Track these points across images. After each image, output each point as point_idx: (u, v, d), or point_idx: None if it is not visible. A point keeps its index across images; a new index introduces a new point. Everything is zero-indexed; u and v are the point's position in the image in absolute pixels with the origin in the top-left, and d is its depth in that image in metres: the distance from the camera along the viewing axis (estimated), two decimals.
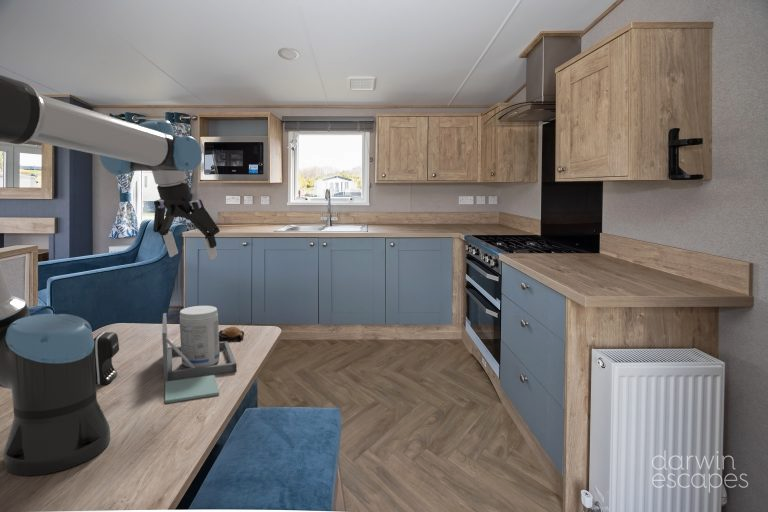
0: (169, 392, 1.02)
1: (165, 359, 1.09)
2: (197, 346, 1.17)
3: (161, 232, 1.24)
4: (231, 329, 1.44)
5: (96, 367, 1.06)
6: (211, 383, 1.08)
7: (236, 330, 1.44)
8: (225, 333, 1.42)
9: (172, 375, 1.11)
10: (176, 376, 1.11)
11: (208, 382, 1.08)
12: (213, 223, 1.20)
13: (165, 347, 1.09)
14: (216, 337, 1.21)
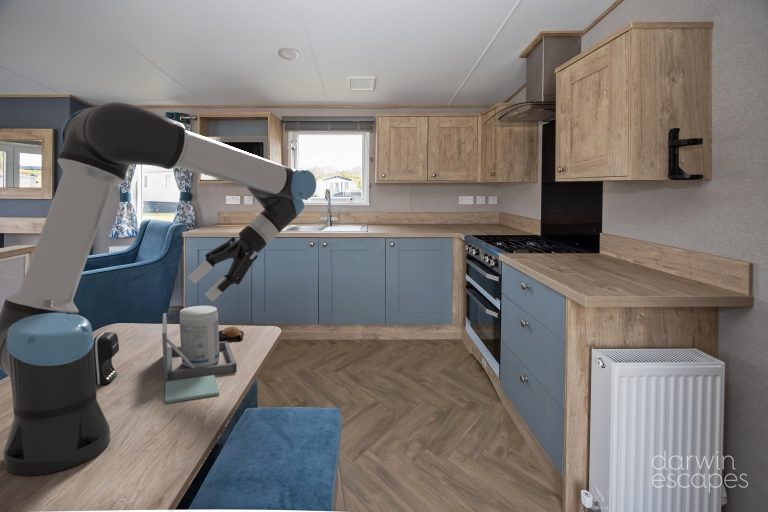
0: (169, 392, 1.02)
1: (165, 359, 1.09)
2: (197, 346, 1.17)
3: (208, 258, 1.27)
4: (231, 329, 1.44)
5: (96, 367, 1.06)
6: (211, 383, 1.08)
7: (236, 330, 1.44)
8: (225, 333, 1.42)
9: (172, 375, 1.11)
10: (176, 376, 1.11)
11: (208, 382, 1.08)
12: (242, 275, 1.17)
13: (165, 347, 1.09)
14: (216, 337, 1.21)
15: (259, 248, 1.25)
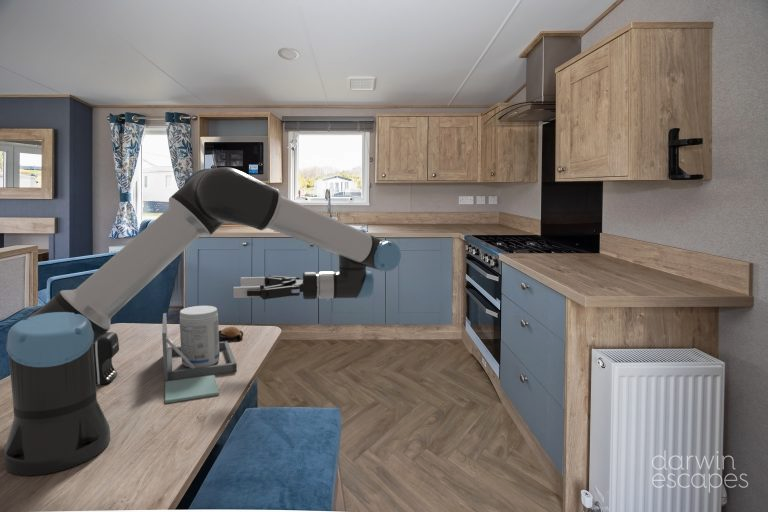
0: (169, 392, 1.02)
1: (165, 359, 1.09)
2: (197, 346, 1.17)
3: (267, 277, 1.30)
4: (230, 329, 1.43)
5: (96, 367, 1.06)
6: (211, 383, 1.08)
7: (235, 330, 1.44)
8: (224, 333, 1.42)
9: (172, 375, 1.11)
10: (176, 376, 1.11)
11: (208, 382, 1.08)
12: (273, 296, 1.15)
13: (165, 347, 1.09)
14: (216, 337, 1.21)
15: (307, 294, 1.22)
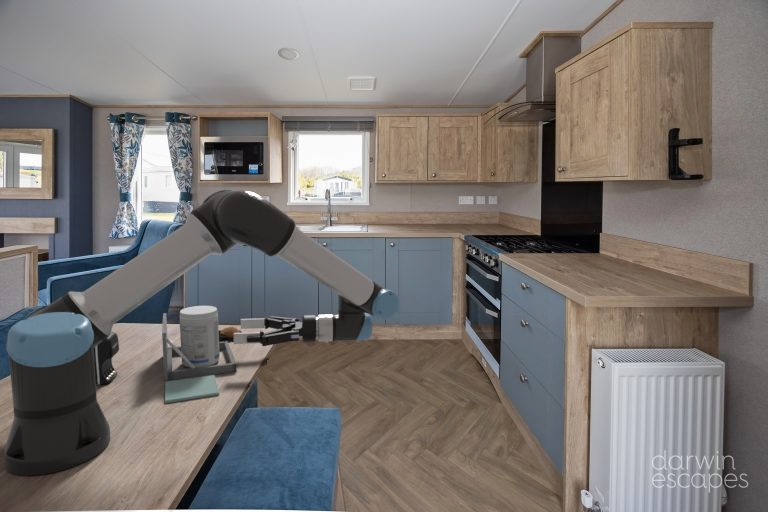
0: (169, 392, 1.02)
1: (165, 359, 1.09)
2: (197, 346, 1.17)
3: (267, 318, 1.32)
4: (230, 329, 1.43)
5: (96, 367, 1.06)
6: (211, 383, 1.08)
7: (235, 330, 1.44)
8: (224, 333, 1.42)
9: (172, 375, 1.11)
10: (176, 376, 1.11)
11: (208, 382, 1.08)
12: (273, 342, 1.16)
13: (165, 347, 1.09)
14: (216, 337, 1.21)
15: (306, 338, 1.23)
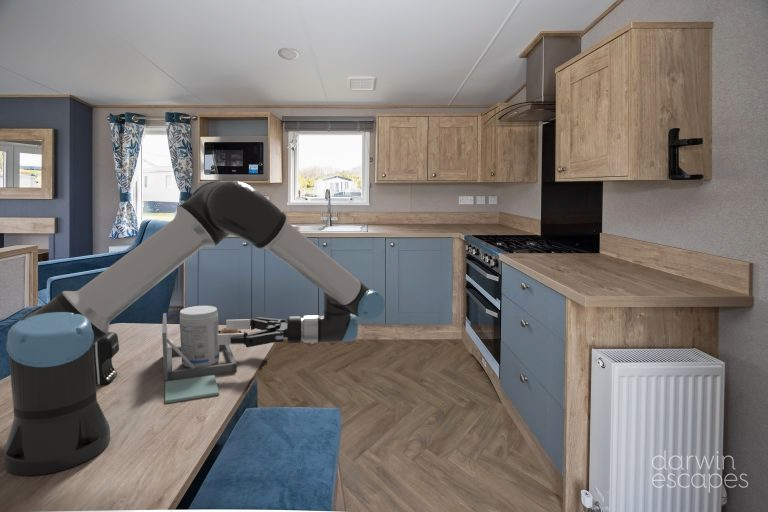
0: (169, 392, 1.02)
1: (165, 359, 1.09)
2: (197, 346, 1.17)
3: (253, 319, 1.31)
4: None
5: (96, 367, 1.06)
6: (211, 383, 1.08)
7: (234, 330, 1.44)
8: (223, 333, 1.42)
9: (172, 375, 1.11)
10: (176, 376, 1.11)
11: (208, 382, 1.08)
12: (256, 343, 1.16)
13: (165, 347, 1.09)
14: (216, 337, 1.21)
15: (291, 339, 1.23)
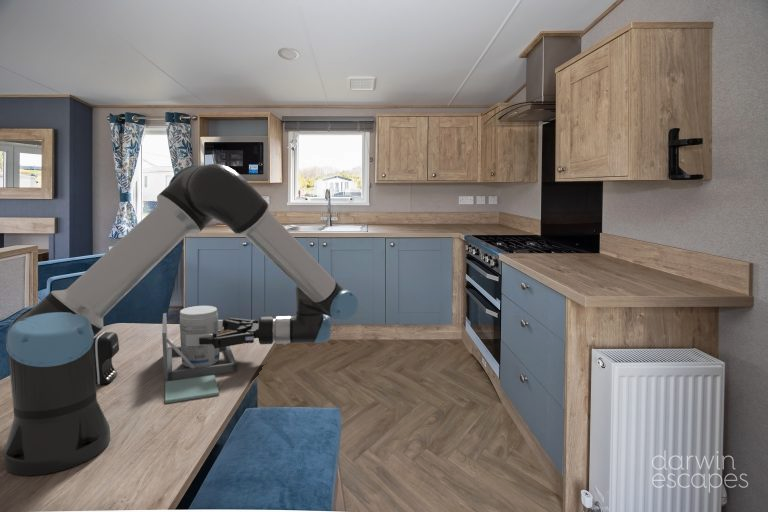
0: (169, 392, 1.02)
1: (165, 359, 1.09)
2: (197, 346, 1.17)
3: (225, 319, 1.30)
4: None
5: (96, 367, 1.06)
6: (211, 383, 1.08)
7: None
8: None
9: (172, 375, 1.11)
10: (176, 376, 1.11)
11: (208, 382, 1.08)
12: (225, 344, 1.14)
13: (165, 347, 1.09)
14: None
15: (262, 340, 1.22)
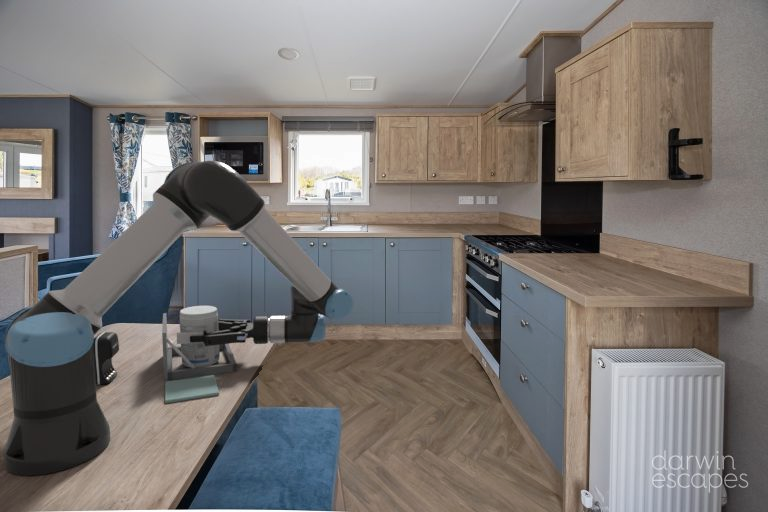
0: (169, 392, 1.02)
1: (165, 359, 1.09)
2: (197, 346, 1.17)
3: None
4: None
5: (96, 367, 1.06)
6: (211, 383, 1.08)
7: None
8: None
9: (172, 375, 1.11)
10: (176, 376, 1.11)
11: (208, 382, 1.08)
12: (216, 342, 1.15)
13: (165, 347, 1.09)
14: None
15: (257, 339, 1.21)
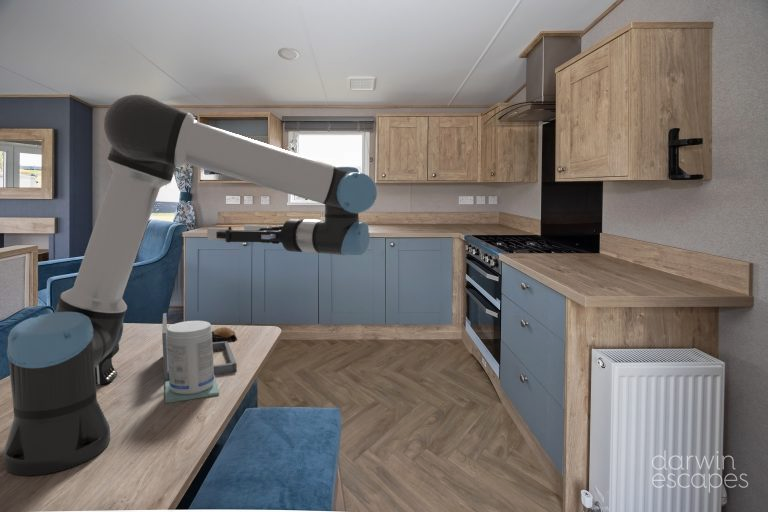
0: (169, 392, 1.02)
1: (165, 359, 1.09)
2: (176, 369, 1.00)
3: (270, 226, 1.16)
4: (224, 329, 1.43)
5: (96, 367, 1.06)
6: None
7: (229, 330, 1.43)
8: (218, 334, 1.41)
9: None
10: None
11: None
12: (237, 239, 1.00)
13: (165, 347, 1.09)
14: (202, 361, 1.02)
15: (285, 243, 1.03)
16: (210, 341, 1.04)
